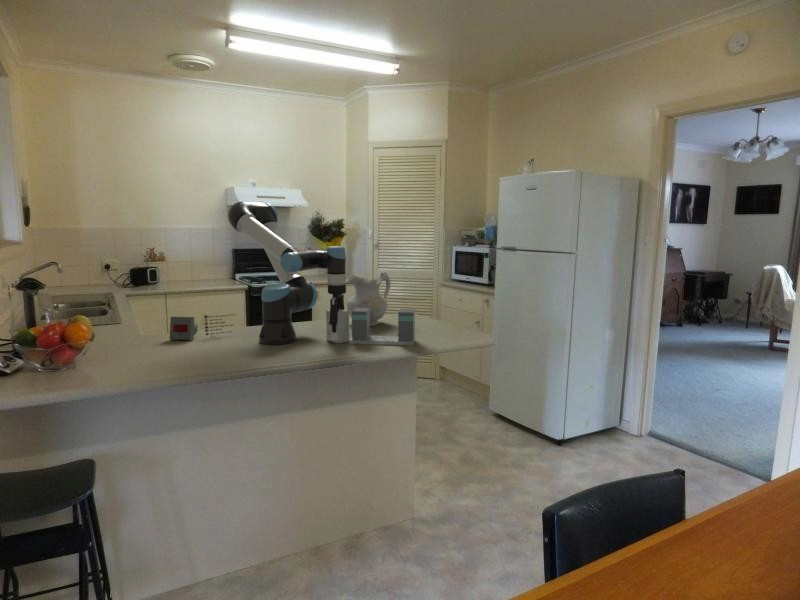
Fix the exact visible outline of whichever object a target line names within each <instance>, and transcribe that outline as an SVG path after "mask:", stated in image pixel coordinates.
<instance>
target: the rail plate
mask: <svg viewBox="0 0 800 600" xmlns="http://www.w3.org/2000/svg"><path fill="white" fill-rule="evenodd" d="M415 341H416V337H415V338H414V341H413V342H403V341H398V335H397V336H396V335H394V336H393V335H370V337H369V338H368V339H367V340H352V337H351V338H349V344H351V345H381V346H382V345H383V346H410V347H413V346H414V343H415Z"/></svg>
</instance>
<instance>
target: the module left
mask: <svg viewBox="0 0 800 600" xmlns="http://www.w3.org/2000/svg"><path fill="white" fill-rule="evenodd" d="M351 334H352V336H351V338H352V340H367V339H368V338H369V337H370V336H371V326H370V308H355V309H354V310H353V311H352V317H351Z"/></svg>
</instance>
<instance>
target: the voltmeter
mask: <svg viewBox="0 0 800 600" xmlns="http://www.w3.org/2000/svg"><path fill="white" fill-rule="evenodd" d="M229 316H230V314H225V315H215V316H214V315H210V316H209V315H208V316H207V315H205V316H204V320H205V321H206V322H205V323H204V324H205V326H204V332H206V333H205V336H209V335H210V337H211V338H213V335H214V338H216V337H217V336H216V335H218V334H227V333H228V334H229V333H233V330H231V331H223V330H222V328H224V327H232V326H234V324H227V325H225V321H222V319H223V318H221V317H229ZM231 316H236V314H235V313H234V314H231ZM208 317H209V325H213V326H208V320H207V319H208ZM217 317H218V318H217ZM219 317H220V318H219ZM210 318H215V319H210ZM210 321H216V322H215V323H214V322H210ZM218 321H219V322H218ZM214 324H216V326H215V325H214ZM218 324H219V325H218ZM220 324H224V325H220ZM218 327H221V328H218ZM198 328H199V326H198V323H197V322H196V321H195V316H181V315H178V316H176V315H175V316H170V325H169V340H172V341H194V336H196V334H197V332H198ZM211 328H215V329H211ZM209 329H210V330H209ZM213 331H215V332H213ZM216 331H220V332H216ZM209 332H212V333H209ZM215 334H216V335H215Z"/></svg>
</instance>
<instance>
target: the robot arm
mask: <svg viewBox="0 0 800 600" xmlns="http://www.w3.org/2000/svg"><path fill="white" fill-rule="evenodd" d="M278 217H279V214H278V211H277V209H276V208H275V206H274V205H273V204H271V203H269V202H265V201H242V200H241V201H238V202H235V203H233V204H232V205H231V206H230V208H229V210H228V212H227V218H228V219H227V220H228V223H230V225H231V227H232V228H233V229H234V230H236V231H237V232H238V233H239V234H241V235H246V236H247V237H249V238H250V239H252V241H254V242H255V243H256V244H258V245H259V246H260V247H261V248H263V249H264V252H265V254H266V255H267V257H268V259H269V262H270V264H271V265H272V267H273V270H274V271H275V274H276V276H277V278H278V279H279V282H280V283H273V284H268V285H266V286H264V287H263V288H262V290H261V297H260V300H261V311H262V312H261V313H262V324H261V328H260V332H259V335H258V338H259V339H258V342H259V343H260V344H262V345H269V346H271V345H275V346H276V345H277V346H279V345H287V344H292V343H294V342H296V340H297V334H296V331H295V328H294V325H293V323H292V314H294V313H298V312H299V313H300V312H304V311H307V310H310V309H312V308H314V306H315V305H316V303H317V299H318V290H317V288H316V287H315V285H314V284H313V283H310V282H307V280H306V278H305V276H304V275H302V274H300V273H299V272H301V271H308V270H309V271H310V270H317V269H322V270H323V269H324V270H327V271H326V272H327V275H326V276H327V284H328V285H327V293H328V294H329V295H332V296H331V298H330V300H329V303H330V304H329V305H330V306H329V307H330V308H329V309H330V322H329V324H331V340H338V324H337V320H338V311H339V309H343V310H345V302H344V300H345V299H344V298H345V296H344V295H345V294H346V293H347V285H346V283H347V278H348V276H347V274H346V273H347V272H346V270H347V269H346V264H347V262H346V261H347V260H346V259H347V256H346V248H345V247H344V246H339V245H338V246H337V245H335V246H333V245H331V246H330V245H329V246H327V247H326V250H316V249H310V250H306V251H305V250H304V251H299V250H297V249H296V248H294V247H293V246H292V245H290V244H289V243H288V242H287V241H286V240H284V239H282V237H281V236H280V234H279V232H278V230H277V228H278V222H279V221H278V220H279V218H278ZM333 320H334V321H333Z"/></svg>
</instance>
